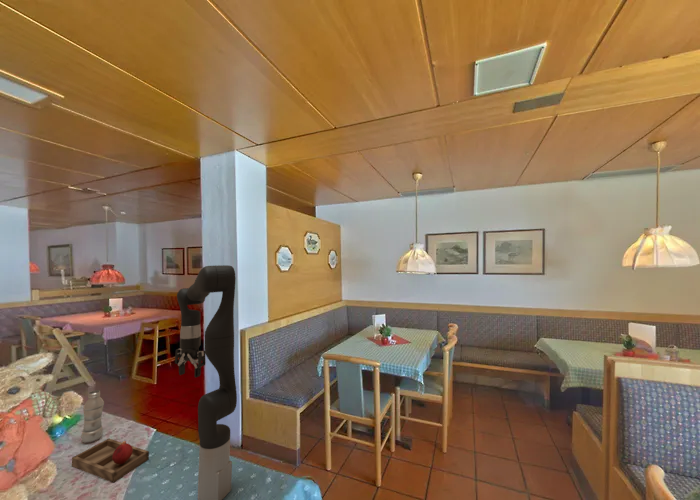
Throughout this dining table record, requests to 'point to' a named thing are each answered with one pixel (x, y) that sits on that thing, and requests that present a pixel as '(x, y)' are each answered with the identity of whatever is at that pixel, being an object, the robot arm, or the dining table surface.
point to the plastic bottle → (92, 417)
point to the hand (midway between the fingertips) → (189, 375)
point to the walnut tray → (108, 461)
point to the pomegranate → (122, 453)
